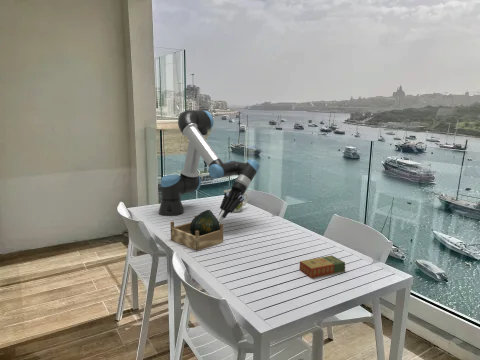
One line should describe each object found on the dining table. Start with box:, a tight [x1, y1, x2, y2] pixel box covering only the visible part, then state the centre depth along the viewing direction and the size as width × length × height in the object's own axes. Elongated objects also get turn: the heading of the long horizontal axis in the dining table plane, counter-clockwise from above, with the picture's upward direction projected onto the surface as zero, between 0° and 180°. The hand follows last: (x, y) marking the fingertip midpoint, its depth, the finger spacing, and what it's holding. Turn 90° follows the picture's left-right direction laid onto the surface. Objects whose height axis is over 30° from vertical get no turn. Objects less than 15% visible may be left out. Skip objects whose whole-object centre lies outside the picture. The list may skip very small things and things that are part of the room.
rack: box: [169, 214, 224, 251], centre depth 169 cm, size 20×16×9 cm
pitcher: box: [223, 188, 249, 213], centre depth 222 cm, size 11×18×14 cm, turn 122°
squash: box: [190, 209, 220, 236], centre depth 172 cm, size 14×15×15 cm
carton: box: [299, 254, 346, 279], centre depth 138 cm, size 8×16×4 cm, turn 114°
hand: (218, 222), depth 177 cm, fingers closed
